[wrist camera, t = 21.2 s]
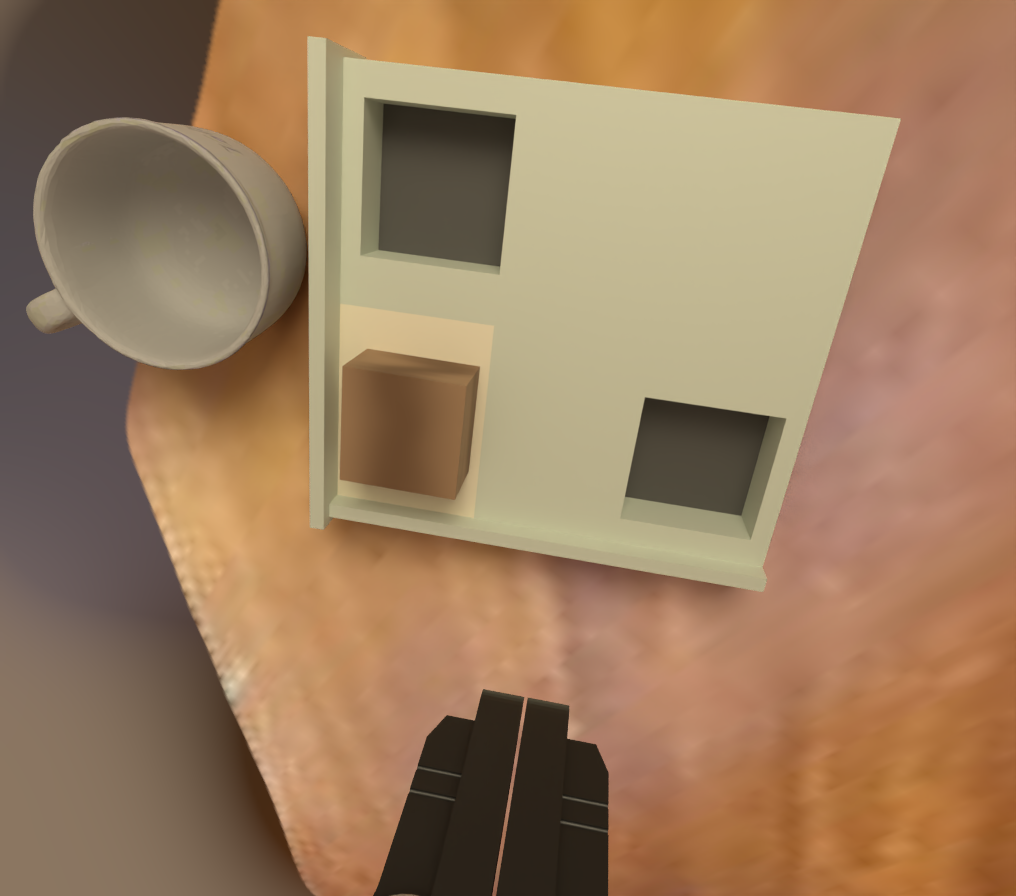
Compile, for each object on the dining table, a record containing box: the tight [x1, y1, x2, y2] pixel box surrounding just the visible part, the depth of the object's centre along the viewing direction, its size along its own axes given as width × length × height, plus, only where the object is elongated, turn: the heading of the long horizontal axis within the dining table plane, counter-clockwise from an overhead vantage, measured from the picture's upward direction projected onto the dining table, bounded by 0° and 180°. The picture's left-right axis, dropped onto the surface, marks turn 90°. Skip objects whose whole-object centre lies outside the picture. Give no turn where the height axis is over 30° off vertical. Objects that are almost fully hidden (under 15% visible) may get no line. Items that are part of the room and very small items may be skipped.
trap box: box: [308, 36, 901, 592], centre depth 34 cm, size 25×24×5 cm
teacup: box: [26, 117, 307, 370], centre depth 33 cm, size 14×11×8 cm
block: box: [340, 349, 480, 500], centre depth 34 cm, size 6×6×4 cm
